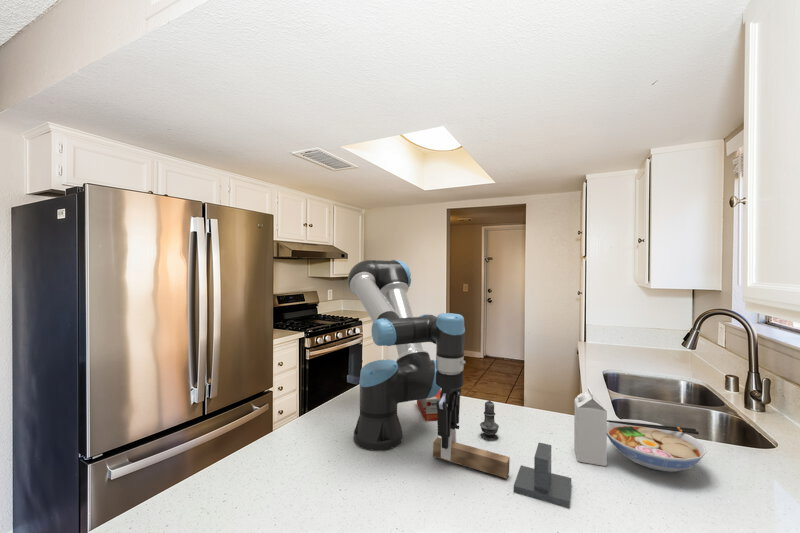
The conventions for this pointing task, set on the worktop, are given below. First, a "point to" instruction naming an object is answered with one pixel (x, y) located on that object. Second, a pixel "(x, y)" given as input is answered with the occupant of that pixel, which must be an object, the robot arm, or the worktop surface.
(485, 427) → the grey stone chess piece
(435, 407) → the medicine box
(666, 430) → the ramen bowl
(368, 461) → the worktop surface
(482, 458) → the walnut beam
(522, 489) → the ridge stand
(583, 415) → the milk carton
